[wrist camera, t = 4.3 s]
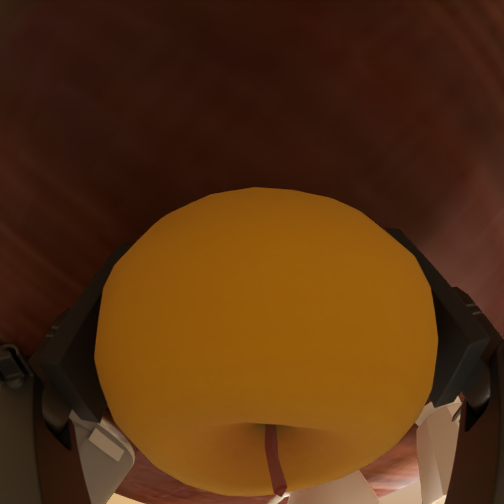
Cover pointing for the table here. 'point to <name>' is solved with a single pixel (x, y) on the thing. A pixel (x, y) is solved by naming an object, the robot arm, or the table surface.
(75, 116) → the table surface
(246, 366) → the apple
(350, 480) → the mug
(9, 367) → the robot arm
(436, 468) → the cup
